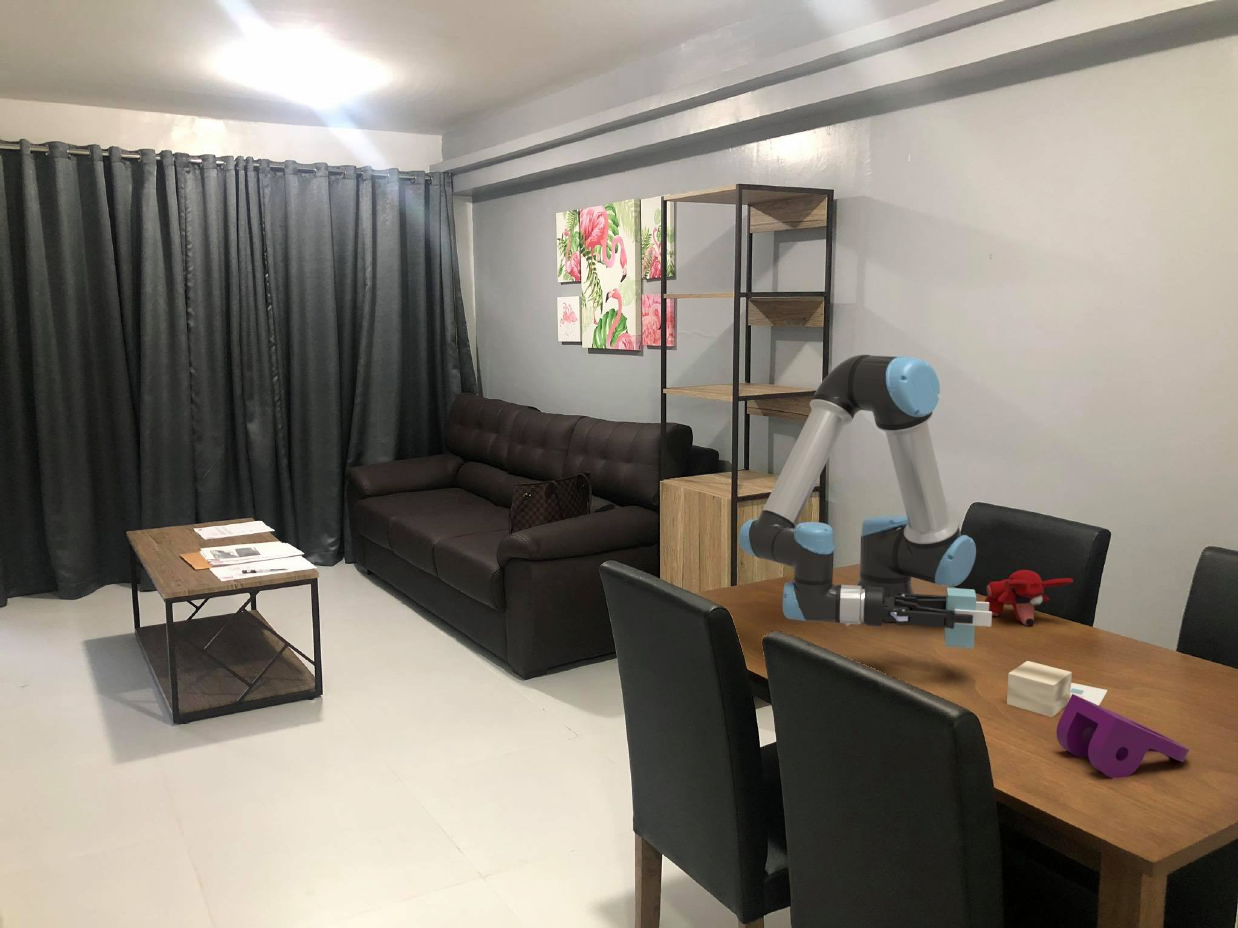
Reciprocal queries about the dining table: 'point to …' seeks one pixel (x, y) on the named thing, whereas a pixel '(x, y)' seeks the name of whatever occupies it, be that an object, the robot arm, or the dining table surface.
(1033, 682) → the birch base brick
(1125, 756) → the mounting bracket
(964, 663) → the dining table surface
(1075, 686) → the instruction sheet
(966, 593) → the teal brick
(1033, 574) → the toy
